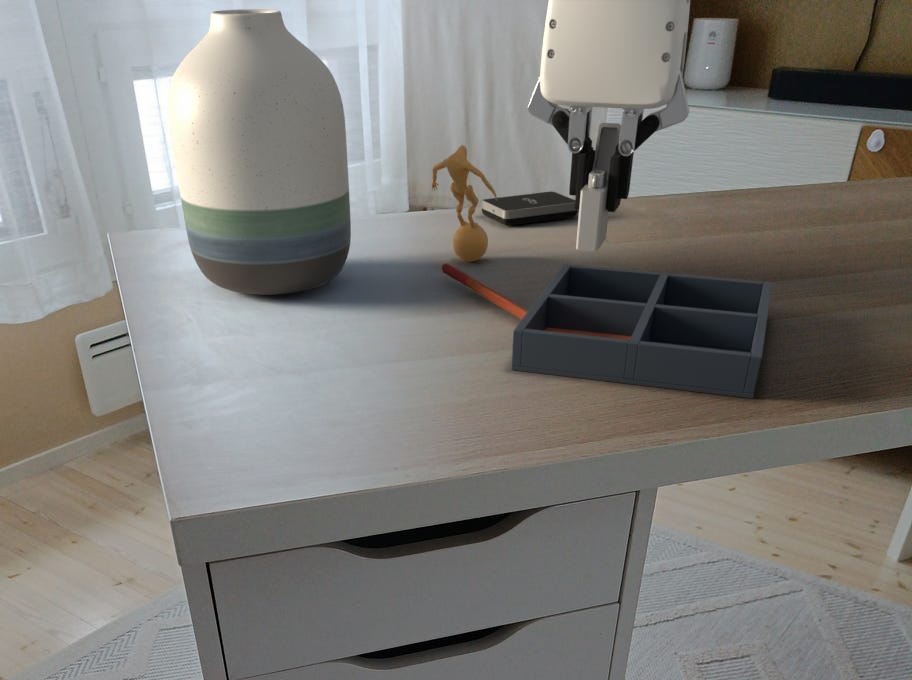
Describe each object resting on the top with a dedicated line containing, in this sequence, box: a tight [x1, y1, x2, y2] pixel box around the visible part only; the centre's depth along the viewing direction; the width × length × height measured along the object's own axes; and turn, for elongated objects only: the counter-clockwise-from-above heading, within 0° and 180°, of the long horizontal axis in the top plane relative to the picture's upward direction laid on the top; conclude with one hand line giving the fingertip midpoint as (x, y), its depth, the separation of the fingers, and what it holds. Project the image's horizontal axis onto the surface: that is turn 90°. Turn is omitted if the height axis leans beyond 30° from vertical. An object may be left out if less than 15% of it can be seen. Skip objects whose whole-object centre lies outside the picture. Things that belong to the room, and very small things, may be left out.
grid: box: [511, 263, 773, 399], centre depth 82 cm, size 20×20×3 cm
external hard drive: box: [481, 190, 579, 227], centre depth 119 cm, size 7×11×2 cm, turn 115°
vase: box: [167, 8, 352, 296], centre depth 91 cm, size 17×17×24 cm
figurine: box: [431, 144, 498, 263], centre depth 100 cm, size 8×6×12 cm
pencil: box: [441, 262, 547, 328], centre depth 91 cm, size 19×1×1 cm
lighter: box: [575, 122, 621, 252], centre depth 72 cm, size 7×2×8 cm, turn 161°
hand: (597, 205), depth 73 cm, fingers closed on lighter, 1 cm apart
